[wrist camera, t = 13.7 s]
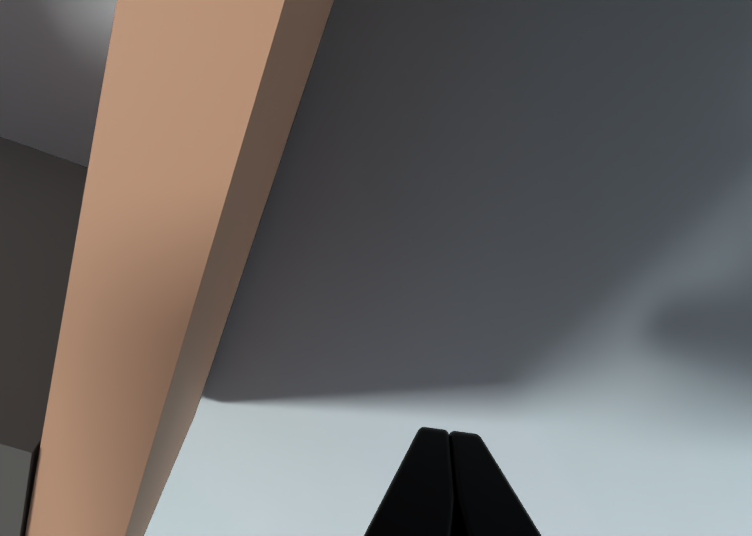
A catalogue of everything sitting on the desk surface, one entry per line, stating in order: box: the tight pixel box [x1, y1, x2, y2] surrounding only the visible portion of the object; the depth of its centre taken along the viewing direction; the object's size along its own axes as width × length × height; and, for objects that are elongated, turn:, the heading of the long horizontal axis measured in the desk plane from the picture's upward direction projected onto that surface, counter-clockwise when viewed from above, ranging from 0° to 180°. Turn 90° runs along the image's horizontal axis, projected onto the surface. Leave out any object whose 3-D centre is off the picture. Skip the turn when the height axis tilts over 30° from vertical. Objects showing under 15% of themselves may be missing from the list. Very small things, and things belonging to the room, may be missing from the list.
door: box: [25, 0, 334, 536], centre depth 8 cm, size 11×1×5 cm, turn 158°
